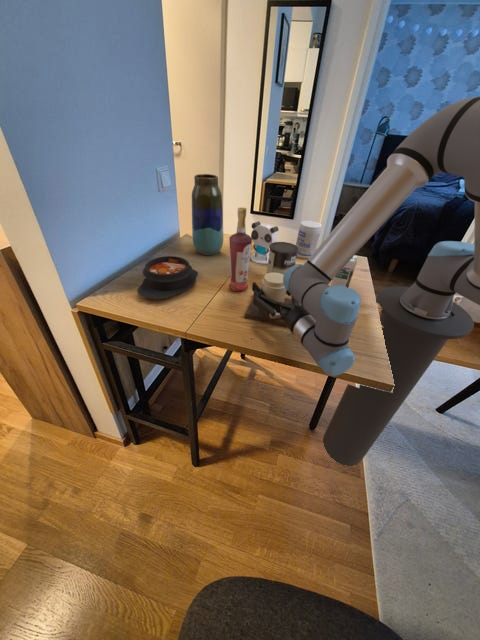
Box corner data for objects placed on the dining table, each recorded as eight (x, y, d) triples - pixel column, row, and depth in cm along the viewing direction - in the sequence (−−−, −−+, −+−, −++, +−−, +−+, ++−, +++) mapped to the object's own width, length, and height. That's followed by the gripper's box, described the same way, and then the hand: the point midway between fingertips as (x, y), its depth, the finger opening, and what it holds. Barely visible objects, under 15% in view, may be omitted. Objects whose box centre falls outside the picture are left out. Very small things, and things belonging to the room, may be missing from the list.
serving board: (294, 303, 89) (295, 299, 88) (288, 327, 79) (289, 323, 78) (255, 295, 92) (255, 291, 91) (244, 317, 81) (244, 313, 81)
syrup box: (328, 295, 94) (339, 258, 85) (329, 288, 99) (340, 252, 90) (344, 299, 93) (357, 261, 84) (345, 291, 97) (357, 255, 88)
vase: (193, 246, 125) (189, 172, 106) (222, 246, 127) (222, 173, 108) (192, 258, 114) (187, 178, 95) (224, 258, 116) (225, 179, 97)
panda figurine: (244, 257, 117) (246, 224, 108) (259, 250, 124) (262, 218, 115) (265, 266, 111) (269, 231, 102) (280, 258, 118) (285, 225, 109)
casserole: (170, 266, 107) (167, 247, 102) (209, 277, 101) (209, 257, 96) (125, 295, 88) (119, 272, 83) (169, 310, 83) (166, 287, 78)
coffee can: (297, 283, 101) (304, 248, 92) (279, 291, 95) (285, 255, 87) (277, 273, 107) (282, 239, 98) (259, 280, 101) (263, 245, 92)
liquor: (238, 296, 91) (243, 213, 74) (224, 288, 95) (224, 208, 78) (252, 289, 95) (259, 209, 78) (237, 281, 99) (241, 204, 82)
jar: (285, 302, 87) (290, 274, 80) (281, 315, 81) (286, 286, 74) (262, 297, 88) (265, 269, 82) (256, 310, 82) (259, 281, 76)
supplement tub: (292, 257, 120) (297, 224, 111) (296, 249, 127) (302, 219, 118) (313, 261, 118) (320, 228, 109) (316, 253, 125) (323, 222, 116)
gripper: (265, 344, 67) (235, 299, 83) (334, 328, 73) (294, 289, 90) (268, 321, 62) (236, 278, 79) (342, 306, 69) (298, 269, 85)
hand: (267, 284), depth 84 cm, fingers open, 9 cm apart
